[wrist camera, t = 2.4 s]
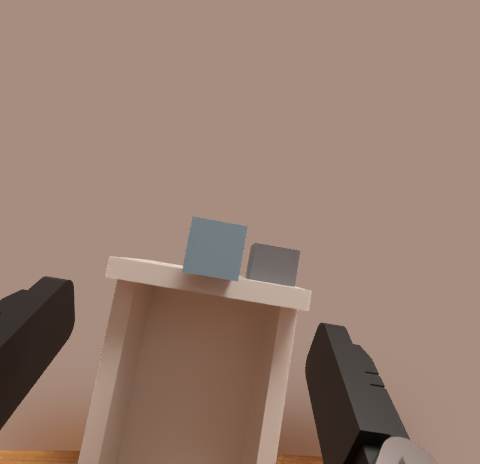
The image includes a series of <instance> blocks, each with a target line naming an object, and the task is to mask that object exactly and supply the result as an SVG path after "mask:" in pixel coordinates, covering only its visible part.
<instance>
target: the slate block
mask: <svg viewBox="0 0 480 464" xmlns="http://www.w3.org/2000/svg"><path fill="white" fill-rule="evenodd" d="M246 231H247V226H241V225H236V224H231V223H224V222H219V221H214V220H208V219H202V218H197V217H192V223H191V228H190V233H189V238H188V243H187V249H186V254H185V260H184V264H183V269H182V272H185V273H191V274H196V275H202V276H208V277H214V278H220V279H226V280H232V281H237V282H238V279H239V273H240V267H241V261H242V255H243V249H244V243H245V237H246Z"/></svg>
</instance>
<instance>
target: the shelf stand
mask: <svg viewBox="0 0 480 464" xmlns="http://www.w3.org/2000/svg"><path fill="white" fill-rule="evenodd" d="M182 269H183V266H181V265H175V264H169V263H163V262H158V261H151V260H145V259H134V258H123V257H111V256H110V257H109V262H108V266H107V270H106V275H105V277H108V278H114V279H118V280H117V284H116V289H115V294H114V299H113V303H112V307H111V312H110V317H109V322H108V326H107V331H106V336H105V340H104V344H103V349H102V354H101V358H100V363H99V367H98V372H97V377H96V381H95V386H94V391H93V396H92V400H91V404H90V409H89V414H88V419H87V423H86V427H85V432H84V437H83V442H82V446H81V451H80V455H79V460H78V464H276V458H277V450H278V444H279V437H280V430H281V424H282V417H283V410H284V403H285V396H286V389H287V382H288V375H289V368H290V361H291V354H292V348H293V340H294V334H295V326H296V320H297V313H298V309H299V310H305V311H309V307H310V300H311V293H312V291H310V290H307V289H303V288H298V287H291V286H285V285H279V284H273V283H267V282H261V281H256V280H250V279H247V278H246V277H245V276H239V279H238V282H237V281H232V280H226V279H220V278H214V277H208V276H202V275H196V274H191V273H185V272H182Z"/></svg>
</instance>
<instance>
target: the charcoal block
mask: <svg viewBox="0 0 480 464" xmlns="http://www.w3.org/2000/svg"><path fill="white" fill-rule="evenodd" d="M299 254H300V251H298V250H292V249H286V248H281V247H275V246H269V245H264V244H258V243H255V244H253V245H252V246H251V248H250V254H249V260H248V266H247V272H246V278H247V279H250V280H256V281H261V282H267V283H273V284H279V285H285V286H291V287H295V281H296V275H297V267H298V261H299Z"/></svg>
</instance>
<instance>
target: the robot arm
mask: <svg viewBox="0 0 480 464" xmlns="http://www.w3.org/2000/svg"><path fill="white" fill-rule="evenodd" d="M74 322H75V310H74V285H73V282H72V281H71V280H65V279H59V278H53V277H47V276H46V277H43V278H42V279H40V280H39V281H38V282H37V283H36V284H34V285H33V286H32V287H31V288H30V289H29V290H20V291H18V292H16V293H14V294H11V295H9V296H7V297H5V298H3V299H2V300H0V430H1V428H2V427H3V426H4V424H5V423H6V422H7V420H8V419H9V418H10V416H11V415H12V414H13V412H14V411H15V410H16V408H17V406H19V404H20V403H21V401H22V400H23V399H24V398H25V396H26V395H27V394H28V392H29V391H30V389H31V388H32V387H33V386H34V384H35V383H36V382H37V380H38V378H40V376H41V375H42V374H43V372H44V371H45V370H46V368H47V366H49V364H50V363H51V362H52V360H53V359H54V357H55V356H56V355H57V353H58V352H59V351H60V349H61V348H62V347H63V345H64V344H65V343H66V341H67V340H68V339H69V337H70V335H71V333H72V330H73V327H74ZM305 372H306V380H307V385H308V390H309V395H310V400H311V404H312V409H313V414H314V419H315V424H316V429H317V433H318V438H319V443H320V448H321V453H322V458H323V462H324V464H438V462H437V461H436V460H435V459H434V458H433V457H432V456H431V454H429V453H428V452H427V451H426V450H425V449H424V448H422V447H421V446H420V445H418V444H416V443H415V442H413V441H411V440H410V438H409V436H408V434H407V432H406V430H405V428H404V426H403V424H402V421H401V420H400V417H399V415H398V413H397V411H396V409H395V407H394V405H393V403H392V400H391V398H390V396H389V394H388V392H387V390H386V389H384V384H383V382H382V379H381V378H380V376H378V374H379V373H378V371H377V369H376V367H375V365H374V363H373V361H372V359H371V358H370V356H369V355H368V354H367V353H366V352H365V351H364V350H363V349H362V348H361V346H360V345H355V344H352V341H351V339H350V336H349V334H348V332H347V330H346V328H345V327H344V326H339V325H332V324H326V323H320V324H319V326H318V328H317V331H316V333H315V336H314V339H313V342H312V345H311V348H310V351H309V353H308V356H307V360H306V367H305Z"/></svg>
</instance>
